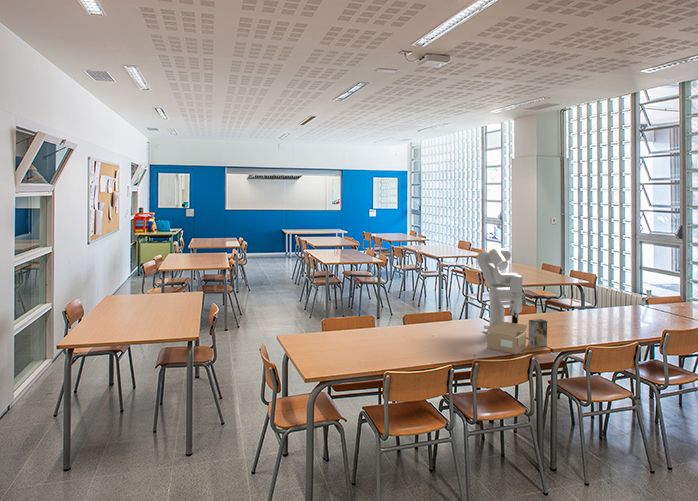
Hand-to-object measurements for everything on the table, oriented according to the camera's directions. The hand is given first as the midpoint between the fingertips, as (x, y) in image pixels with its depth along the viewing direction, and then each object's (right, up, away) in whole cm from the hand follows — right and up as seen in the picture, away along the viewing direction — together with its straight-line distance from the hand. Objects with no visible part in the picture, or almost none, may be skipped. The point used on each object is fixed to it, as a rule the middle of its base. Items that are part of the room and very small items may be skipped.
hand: (514, 323), depth 314 cm
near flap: (-12, -2, -16) cm, 20 cm away
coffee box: (+13, -14, -3) cm, 19 cm away
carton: (-8, -14, -9) cm, 19 cm away
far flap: (-2, -2, -2) cm, 3 cm away
